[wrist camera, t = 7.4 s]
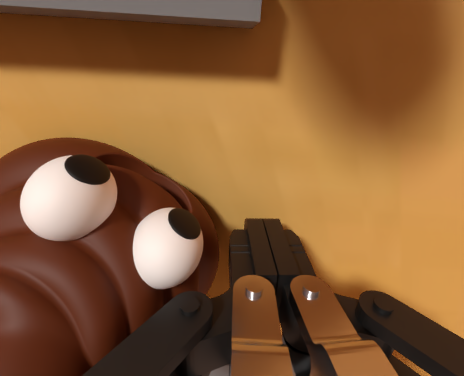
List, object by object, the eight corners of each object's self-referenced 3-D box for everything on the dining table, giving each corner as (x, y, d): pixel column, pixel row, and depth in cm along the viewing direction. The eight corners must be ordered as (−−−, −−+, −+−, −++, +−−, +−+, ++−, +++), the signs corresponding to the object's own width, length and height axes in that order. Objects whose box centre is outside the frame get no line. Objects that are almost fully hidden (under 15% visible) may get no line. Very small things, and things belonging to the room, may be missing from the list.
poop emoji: (-21, 235, 13) (-477, 575, 4) (47, 76, 10) (-805, 169, 2) (165, 316, 16) (107, 614, 7) (258, 210, 13) (335, 489, 5)
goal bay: (257, -42, 9) (267, -68, 7) (229, 353, 17) (230, 387, 16) (-336, -90, 8) (-502, -134, 6) (-56, 358, 16) (-89, 395, 14)
